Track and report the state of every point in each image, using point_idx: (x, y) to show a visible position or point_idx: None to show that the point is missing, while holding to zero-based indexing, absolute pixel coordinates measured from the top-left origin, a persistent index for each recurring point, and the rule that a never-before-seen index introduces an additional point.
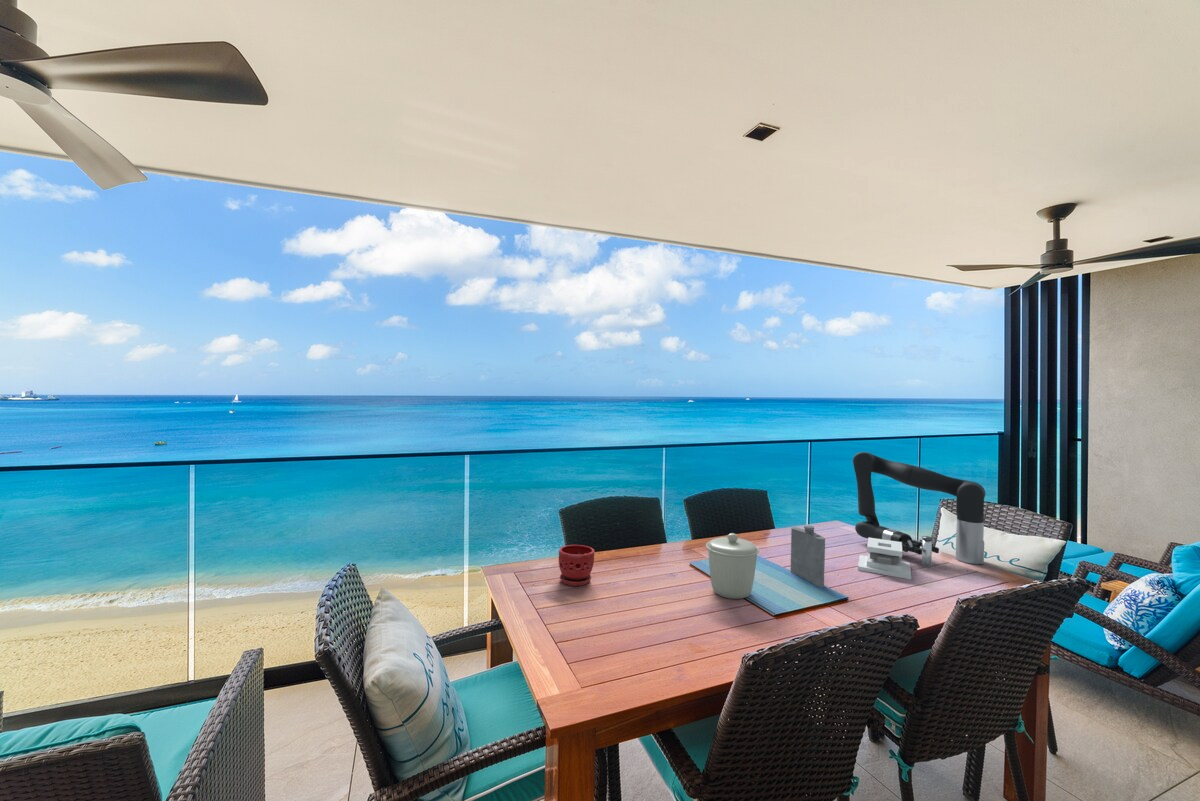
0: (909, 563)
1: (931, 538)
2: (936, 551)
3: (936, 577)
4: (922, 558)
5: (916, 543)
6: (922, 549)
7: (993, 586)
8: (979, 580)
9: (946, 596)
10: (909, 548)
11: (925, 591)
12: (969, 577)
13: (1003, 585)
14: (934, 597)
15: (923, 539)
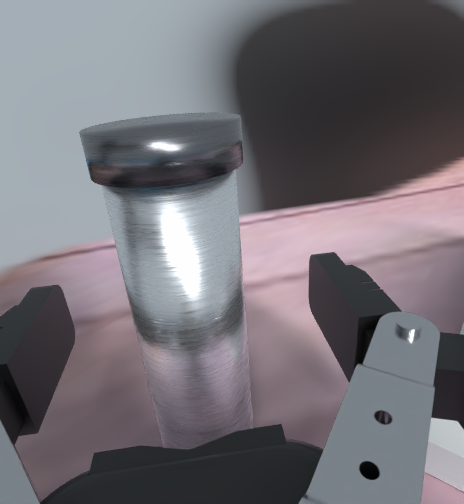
0: (432, 421)
1: (158, 116)
2: (66, 329)
3: (308, 291)
4: (249, 411)
5: (139, 494)
6: (237, 326)
7: None
8: (110, 271)
9: (384, 200)
10: (443, 345)
11: (448, 213)
12: (114, 292)
13: (75, 246)
14: (431, 196)
15: (242, 153)
